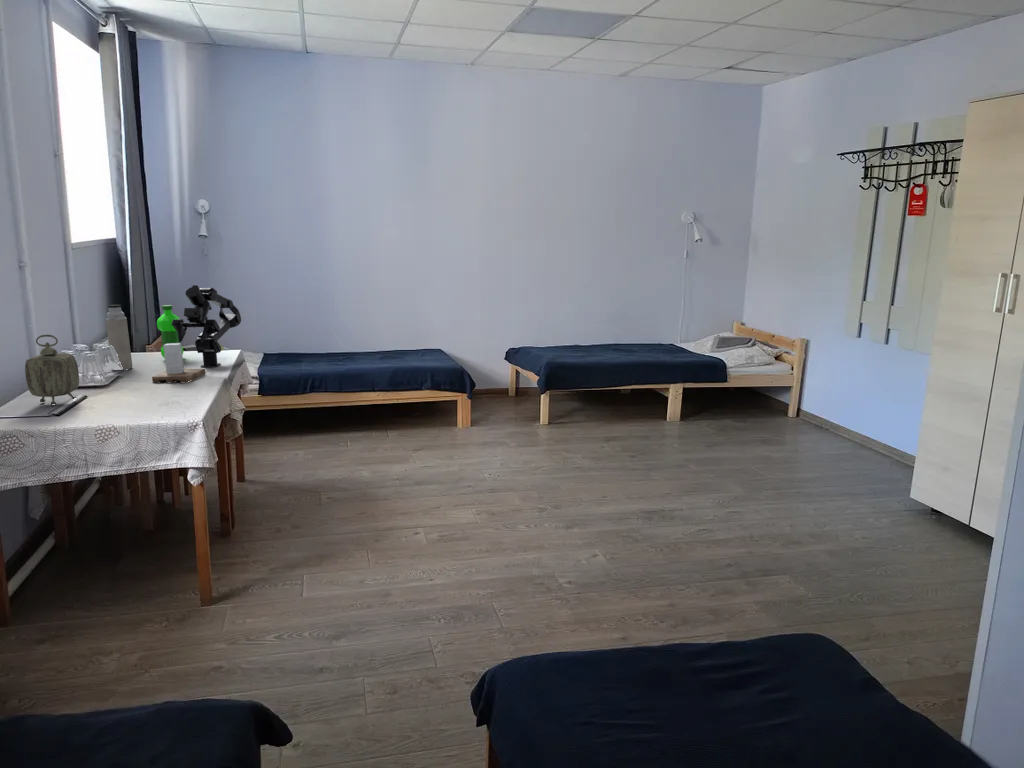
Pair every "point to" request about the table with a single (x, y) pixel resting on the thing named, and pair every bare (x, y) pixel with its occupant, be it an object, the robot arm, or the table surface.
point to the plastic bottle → (167, 328)
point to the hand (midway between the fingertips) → (190, 341)
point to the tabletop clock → (51, 373)
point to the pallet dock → (179, 375)
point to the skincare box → (173, 358)
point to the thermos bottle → (119, 335)
